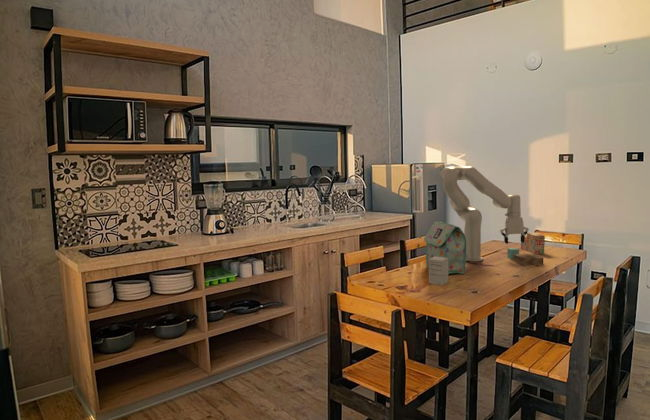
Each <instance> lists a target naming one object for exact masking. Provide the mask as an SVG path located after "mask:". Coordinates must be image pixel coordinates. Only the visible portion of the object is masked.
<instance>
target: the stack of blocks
mask: <svg viewBox="0 0 650 420" xmlns="http://www.w3.org/2000/svg"><path fill="white" fill-rule="evenodd" d="M545 239H546V236H545V235H544V234H542V233H539V232H537V231H536V232H527V234H526V235H525V241H524V243H522V242H521V241H520V249H522V250H524V251H527V252H529V253H530V254H535V255H545V243H546V240H545Z"/></svg>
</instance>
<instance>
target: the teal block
mask: <svg viewBox="0 0 650 420" xmlns="http://www.w3.org/2000/svg"><path fill="white" fill-rule="evenodd" d="M514 254H520V249H519V248H517V247H507V259H509V260H514Z"/></svg>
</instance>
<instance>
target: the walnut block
mask: <svg viewBox="0 0 650 420" xmlns="http://www.w3.org/2000/svg"><path fill="white" fill-rule="evenodd" d="M513 262H515V263H516V264H519V265H521V266H543V265H544V257H542V256H540V255H539V254H533V253H523V254H522V253H519V254H514V259H513Z"/></svg>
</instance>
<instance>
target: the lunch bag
mask: <svg viewBox="0 0 650 420" xmlns="http://www.w3.org/2000/svg"><path fill="white" fill-rule="evenodd" d="M423 241H424V242H425V243H426V245H425V246H426V249H425V267H426V268H428V269H429V259H430V258H433V257H444V258H448V275H450V274H466V263H467V261H466V248H467V242H466V237H465V234H464V231H463V230H462V229H461V227H459V226H458V225H455V224H450V223H446V222H443V221H440V220H439V221H434V222H433V223H432V225H431V226H430V227H429V229H428V230H427V232H426V234H425V236H424V238H423Z"/></svg>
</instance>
